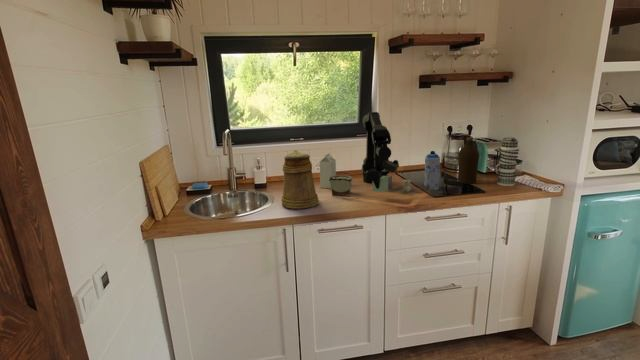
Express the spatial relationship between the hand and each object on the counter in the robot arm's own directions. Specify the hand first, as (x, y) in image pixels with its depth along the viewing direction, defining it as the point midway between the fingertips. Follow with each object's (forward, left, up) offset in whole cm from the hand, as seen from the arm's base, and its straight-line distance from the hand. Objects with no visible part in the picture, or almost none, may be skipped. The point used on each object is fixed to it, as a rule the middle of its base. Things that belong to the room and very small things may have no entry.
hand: (380, 187), depth 168 cm
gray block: (-5, +17, -6) cm, 19 cm away
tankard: (-35, -19, -7) cm, 41 cm away
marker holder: (+1, +17, -7) cm, 19 cm away
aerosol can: (+15, +33, -7) cm, 37 cm away
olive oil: (+29, +53, -7) cm, 61 cm away
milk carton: (-37, +11, -7) cm, 39 cm away
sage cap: (0, 0, -2) cm, 2 cm away
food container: (-22, +1, -7) cm, 23 cm away
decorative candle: (+48, +57, -7) cm, 75 cm away
